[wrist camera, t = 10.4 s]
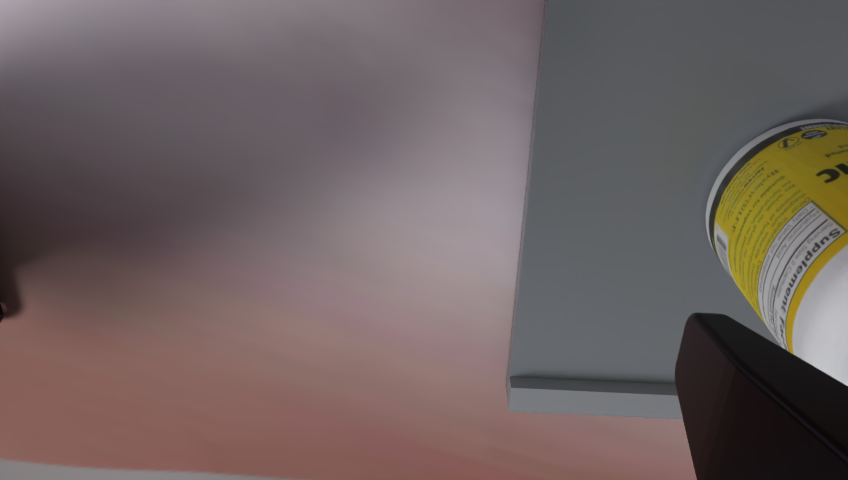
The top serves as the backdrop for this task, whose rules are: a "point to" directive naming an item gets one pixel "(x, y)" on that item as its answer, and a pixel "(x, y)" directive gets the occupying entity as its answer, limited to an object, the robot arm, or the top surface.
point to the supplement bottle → (790, 236)
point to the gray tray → (647, 183)
